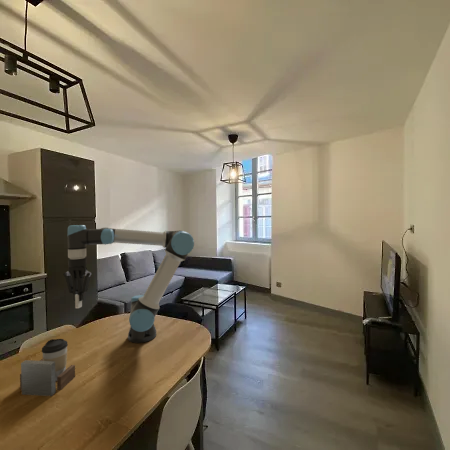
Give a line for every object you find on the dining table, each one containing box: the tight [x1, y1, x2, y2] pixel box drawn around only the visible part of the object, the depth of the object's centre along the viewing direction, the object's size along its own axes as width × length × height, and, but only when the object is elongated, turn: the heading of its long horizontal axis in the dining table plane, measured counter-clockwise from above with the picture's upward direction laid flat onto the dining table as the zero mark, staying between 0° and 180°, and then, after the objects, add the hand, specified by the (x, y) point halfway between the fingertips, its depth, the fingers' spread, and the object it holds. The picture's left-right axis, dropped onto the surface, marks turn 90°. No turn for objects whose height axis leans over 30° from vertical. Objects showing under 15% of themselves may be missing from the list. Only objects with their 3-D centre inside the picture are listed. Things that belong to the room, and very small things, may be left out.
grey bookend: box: [20, 359, 57, 397], centre depth 95 cm, size 12×2×12 cm, turn 85°
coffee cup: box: [41, 338, 69, 382], centre depth 105 cm, size 9×9×15 cm
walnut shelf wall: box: [19, 358, 76, 391], centre depth 106 cm, size 16×19×6 cm
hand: (78, 307), depth 119 cm, fingers closed
